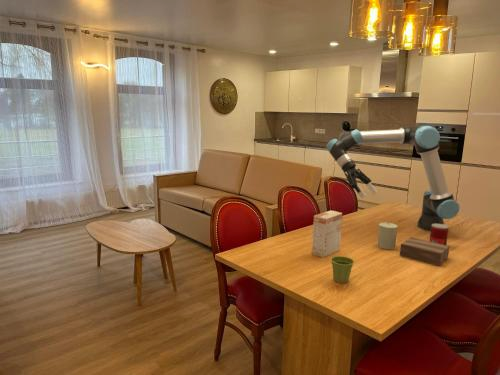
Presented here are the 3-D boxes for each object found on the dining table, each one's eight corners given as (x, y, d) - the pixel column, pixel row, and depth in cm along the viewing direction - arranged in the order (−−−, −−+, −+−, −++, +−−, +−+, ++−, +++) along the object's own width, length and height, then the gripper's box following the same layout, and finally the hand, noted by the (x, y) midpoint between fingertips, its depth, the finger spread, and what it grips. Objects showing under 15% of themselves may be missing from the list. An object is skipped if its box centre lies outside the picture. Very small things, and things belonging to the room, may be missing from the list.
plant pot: (326, 275, 158) (327, 256, 156) (348, 274, 158) (349, 255, 157) (333, 285, 148) (334, 265, 147) (356, 284, 149) (357, 264, 147)
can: (395, 244, 197) (397, 222, 194) (396, 250, 188) (398, 227, 186) (377, 242, 200) (379, 220, 197) (376, 247, 191) (378, 225, 189)
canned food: (447, 248, 192) (450, 228, 190) (431, 247, 194) (433, 227, 191) (443, 243, 199) (446, 224, 197) (427, 242, 201) (430, 222, 199)
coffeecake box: (328, 246, 192) (330, 210, 188) (340, 250, 187) (343, 212, 183) (310, 253, 181) (313, 215, 177) (323, 258, 176) (325, 218, 172)
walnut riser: (409, 248, 192) (411, 237, 190) (447, 257, 180) (449, 246, 178) (399, 255, 181) (400, 243, 180) (439, 266, 170) (440, 253, 168)
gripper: (352, 166, 216) (374, 195, 209) (330, 170, 198) (353, 202, 191) (361, 158, 211) (384, 188, 204) (339, 161, 193) (364, 194, 186)
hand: (369, 195), depth 197 cm, fingers open, 13 cm apart
